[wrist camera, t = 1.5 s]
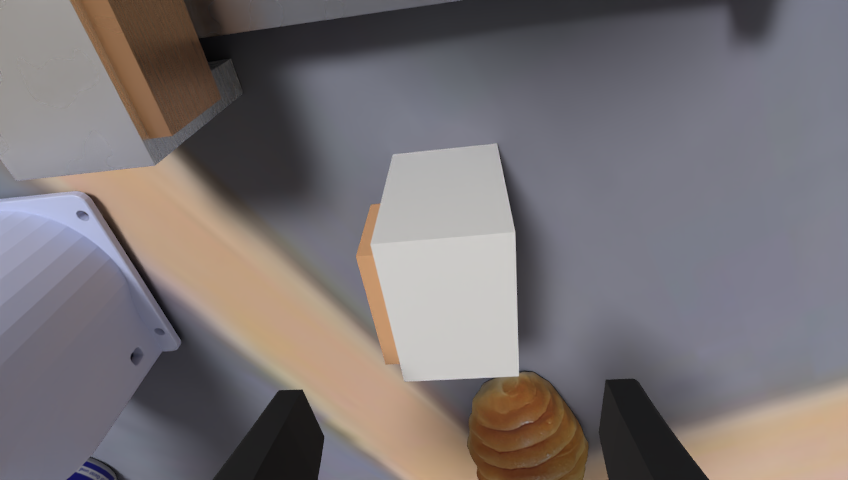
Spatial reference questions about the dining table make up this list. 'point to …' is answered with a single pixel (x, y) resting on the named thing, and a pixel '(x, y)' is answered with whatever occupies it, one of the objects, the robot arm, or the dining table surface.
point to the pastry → (525, 432)
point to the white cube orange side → (443, 266)
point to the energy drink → (93, 471)
